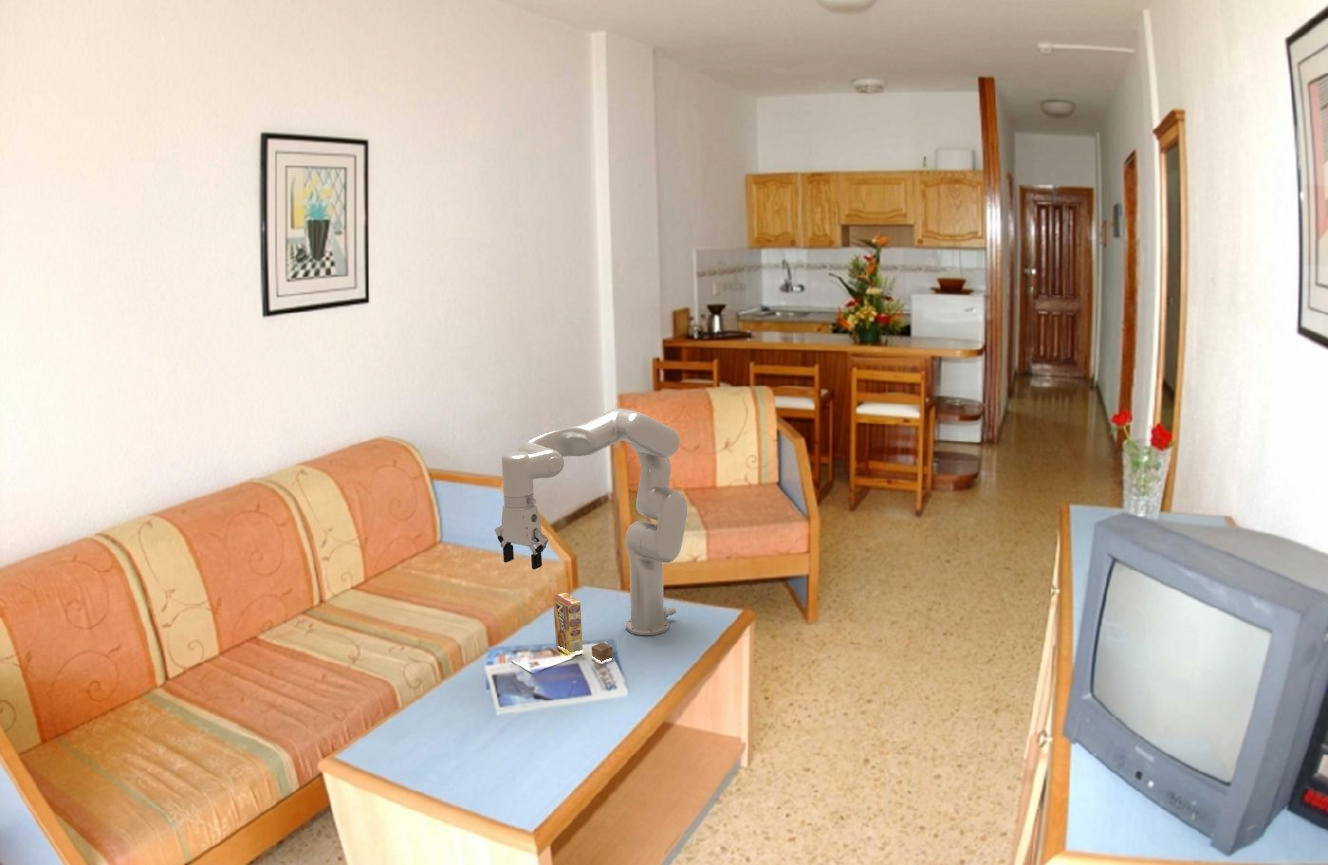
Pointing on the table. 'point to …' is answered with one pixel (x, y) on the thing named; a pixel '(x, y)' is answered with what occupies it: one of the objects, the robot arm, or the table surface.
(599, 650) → the tan wooden block
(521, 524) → the robot arm
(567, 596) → the candy box
